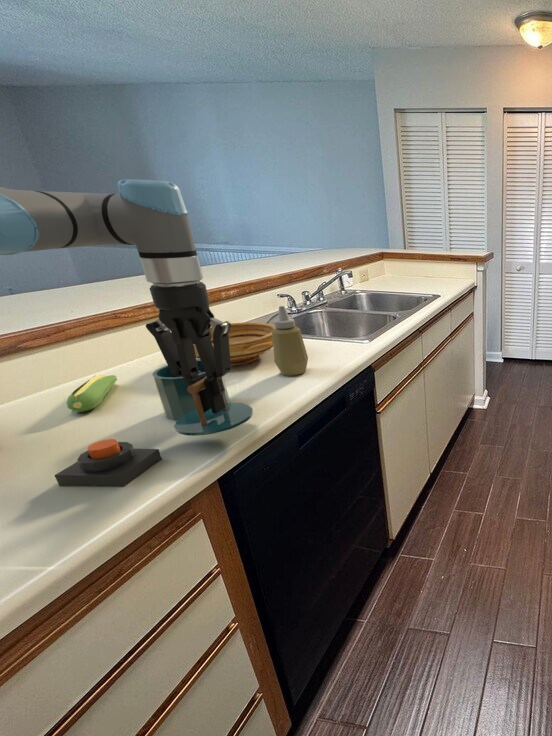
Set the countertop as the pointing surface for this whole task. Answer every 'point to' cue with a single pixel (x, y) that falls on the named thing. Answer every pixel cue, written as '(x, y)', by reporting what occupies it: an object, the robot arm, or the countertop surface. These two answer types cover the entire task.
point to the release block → (109, 468)
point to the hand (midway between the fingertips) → (212, 409)
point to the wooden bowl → (247, 341)
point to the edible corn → (90, 393)
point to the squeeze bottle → (288, 346)
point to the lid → (211, 416)
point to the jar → (177, 392)
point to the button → (103, 448)
